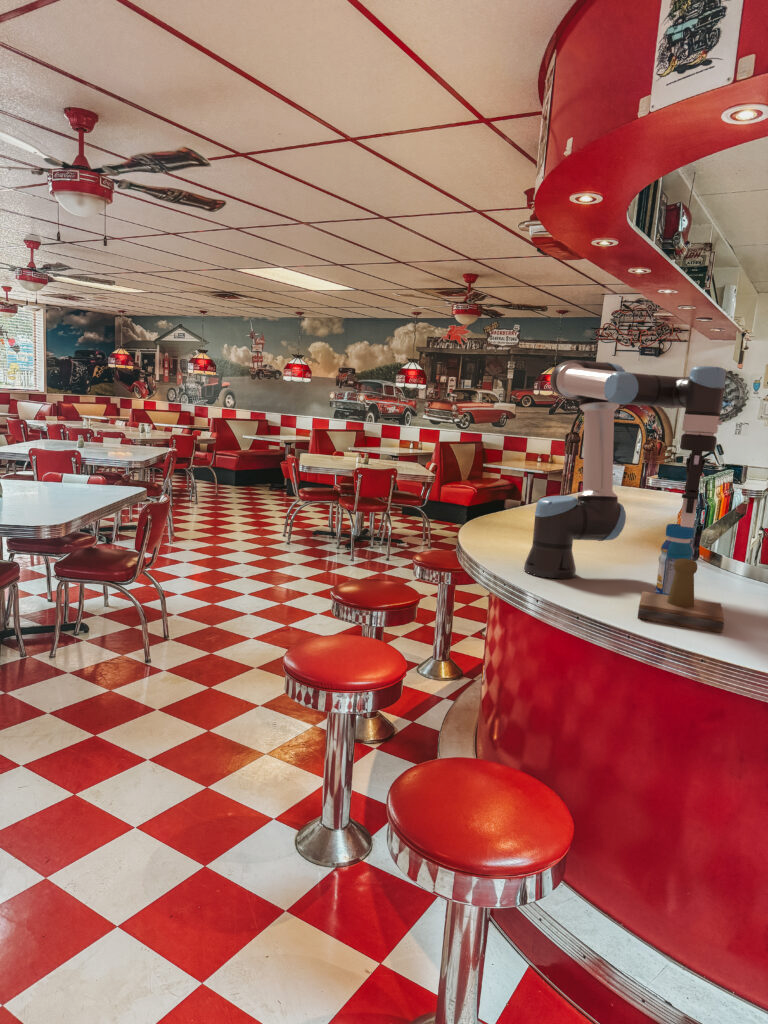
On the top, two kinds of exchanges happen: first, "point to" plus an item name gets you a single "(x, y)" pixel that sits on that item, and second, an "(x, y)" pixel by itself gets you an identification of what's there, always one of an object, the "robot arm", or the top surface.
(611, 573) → the top surface
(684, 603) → the cork
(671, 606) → the wooden block
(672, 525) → the beverage bottle
